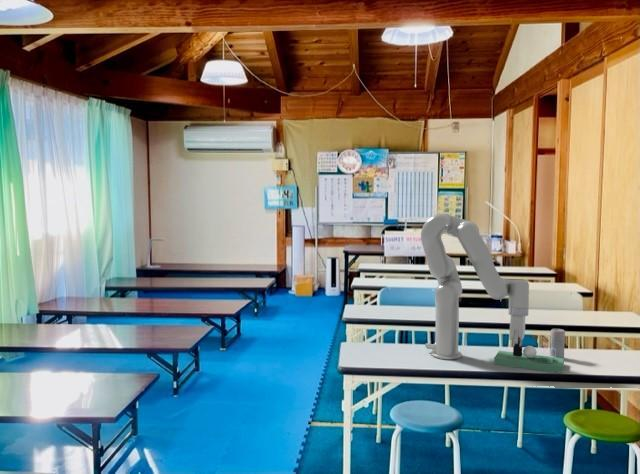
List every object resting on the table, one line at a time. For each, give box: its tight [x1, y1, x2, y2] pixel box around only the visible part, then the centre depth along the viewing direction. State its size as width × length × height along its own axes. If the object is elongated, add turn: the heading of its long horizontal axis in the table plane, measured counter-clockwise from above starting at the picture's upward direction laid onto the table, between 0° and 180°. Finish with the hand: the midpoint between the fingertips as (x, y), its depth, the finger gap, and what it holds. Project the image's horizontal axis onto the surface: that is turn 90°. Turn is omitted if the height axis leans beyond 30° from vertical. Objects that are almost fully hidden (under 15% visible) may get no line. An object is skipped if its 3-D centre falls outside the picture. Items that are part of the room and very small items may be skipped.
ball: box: [522, 345, 537, 358], centre depth 220 cm, size 5×5×5 cm
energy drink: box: [549, 328, 566, 359], centre depth 228 cm, size 5×5×12 cm
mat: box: [493, 350, 565, 374], centre depth 220 cm, size 25×12×2 cm, turn 63°
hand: (517, 355), depth 221 cm, fingers closed
